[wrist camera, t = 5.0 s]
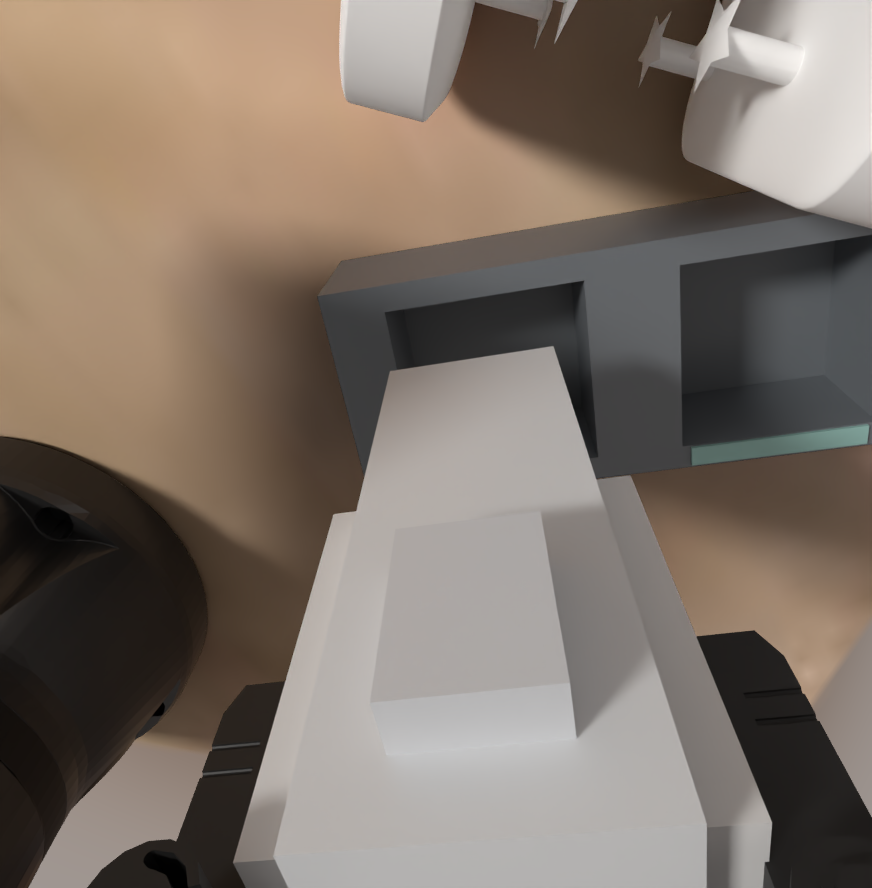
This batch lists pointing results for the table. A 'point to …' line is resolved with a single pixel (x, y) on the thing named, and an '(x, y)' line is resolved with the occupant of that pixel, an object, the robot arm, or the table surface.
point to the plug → (487, 663)
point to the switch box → (637, 327)
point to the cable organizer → (710, 63)
